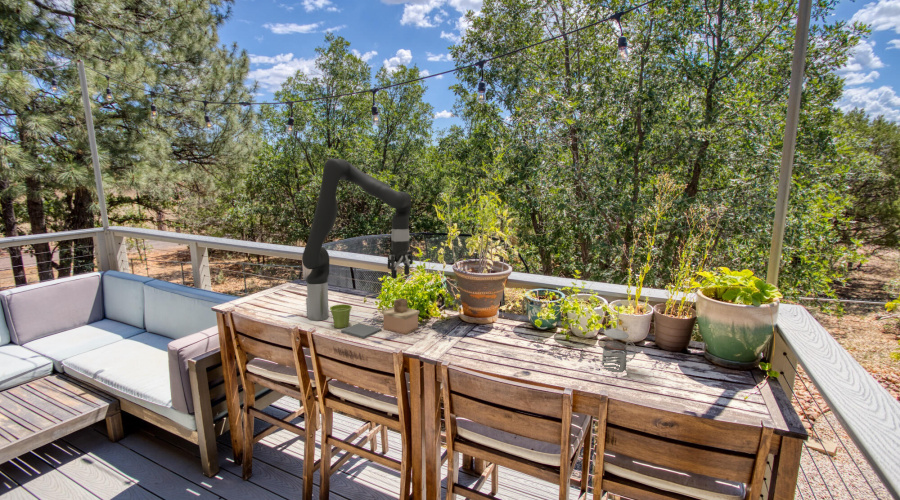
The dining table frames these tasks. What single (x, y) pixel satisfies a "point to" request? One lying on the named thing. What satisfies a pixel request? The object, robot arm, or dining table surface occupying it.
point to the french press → (616, 348)
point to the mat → (361, 330)
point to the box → (400, 324)
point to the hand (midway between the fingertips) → (400, 276)
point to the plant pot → (341, 315)
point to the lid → (400, 310)
